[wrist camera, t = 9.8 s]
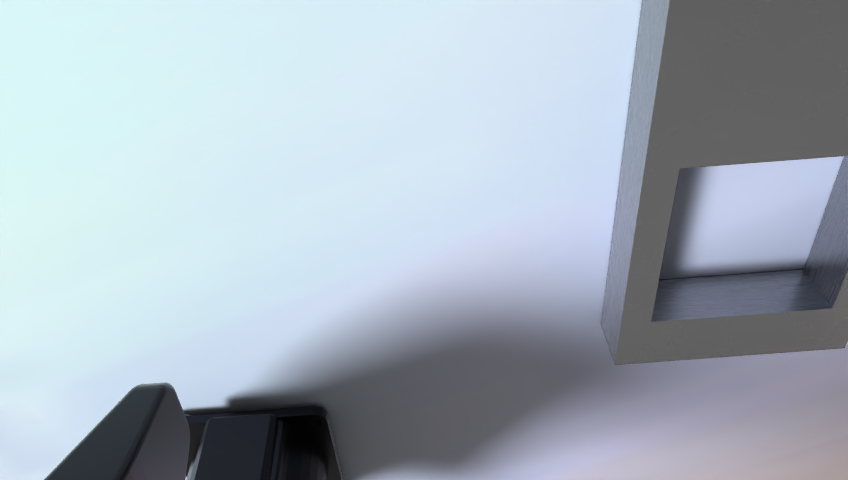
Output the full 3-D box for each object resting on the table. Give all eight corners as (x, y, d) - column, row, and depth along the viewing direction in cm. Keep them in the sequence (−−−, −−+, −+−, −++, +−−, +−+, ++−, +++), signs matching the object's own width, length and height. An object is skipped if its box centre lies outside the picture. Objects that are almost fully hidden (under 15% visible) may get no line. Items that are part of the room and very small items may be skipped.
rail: (817, 308, 26) (845, 350, 24) (601, 324, 26) (615, 367, 24) (1237, -782, 11) (1384, -865, 10) (735, -738, 11) (794, -812, 10)
